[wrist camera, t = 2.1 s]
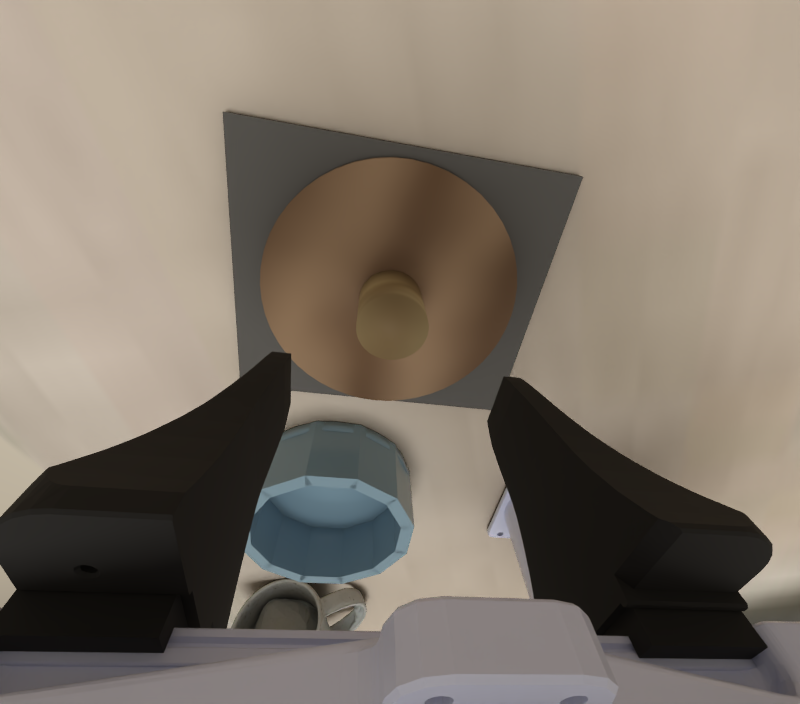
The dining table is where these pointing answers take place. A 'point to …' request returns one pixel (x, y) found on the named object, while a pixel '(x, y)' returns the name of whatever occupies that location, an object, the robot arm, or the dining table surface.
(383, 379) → the walnut cover
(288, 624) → the ceramic mug
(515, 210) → the rubber mat
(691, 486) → the dining table surface
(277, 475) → the slate-blue bowl
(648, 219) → the dining table surface
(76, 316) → the dining table surface
